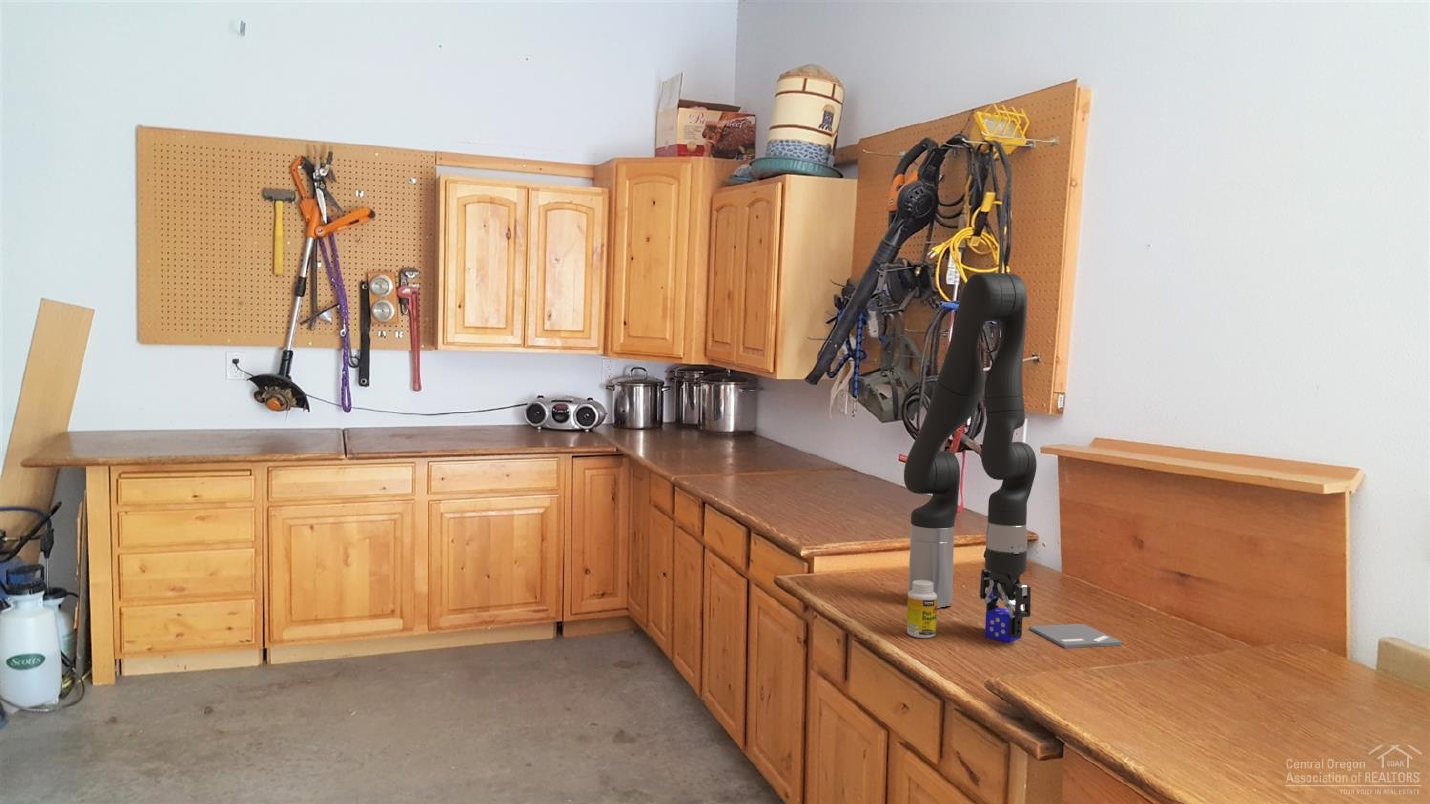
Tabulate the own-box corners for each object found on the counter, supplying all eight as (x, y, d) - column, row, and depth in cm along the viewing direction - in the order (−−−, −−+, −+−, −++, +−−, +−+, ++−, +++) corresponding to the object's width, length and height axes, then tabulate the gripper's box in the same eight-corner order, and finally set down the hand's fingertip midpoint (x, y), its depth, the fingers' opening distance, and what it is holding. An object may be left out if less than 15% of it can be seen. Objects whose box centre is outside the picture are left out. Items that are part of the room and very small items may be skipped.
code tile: (1029, 629, 179) (1029, 625, 179) (1082, 626, 181) (1083, 623, 181) (1065, 648, 167) (1065, 644, 167) (1122, 645, 170) (1122, 641, 170)
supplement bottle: (921, 641, 170) (923, 587, 170) (900, 633, 175) (901, 580, 174) (942, 636, 173) (944, 583, 173) (920, 629, 178) (922, 577, 177)
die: (997, 632, 177) (998, 607, 177) (1021, 638, 173) (1022, 612, 173) (984, 637, 173) (985, 611, 173) (1009, 643, 170) (1010, 617, 169)
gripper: (969, 539, 179) (967, 621, 179) (1008, 555, 165) (1005, 643, 165) (1004, 538, 180) (1001, 619, 181) (1045, 553, 166) (1042, 641, 167)
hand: (1003, 630), depth 173 cm, fingers open, 8 cm apart
